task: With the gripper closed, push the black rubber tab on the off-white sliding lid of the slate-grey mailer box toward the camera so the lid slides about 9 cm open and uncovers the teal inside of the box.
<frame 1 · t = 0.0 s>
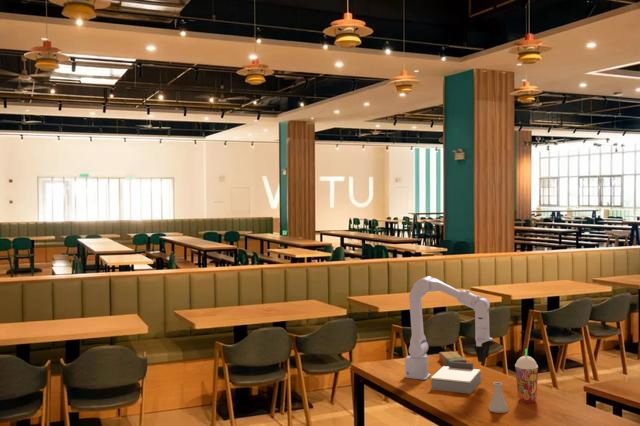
hand: (483, 359, 267), 10 cm above the table, tool pointing down, fingers open, 7 cm apart
flask: (498, 410, 235), on the table
lid: (456, 371, 267), point 6 cm above the table, slide at 0.0 cm
mailer box: (456, 385, 267), on the table
smoothie: (527, 401, 244), on the table
carton: (452, 365, 299), on the table
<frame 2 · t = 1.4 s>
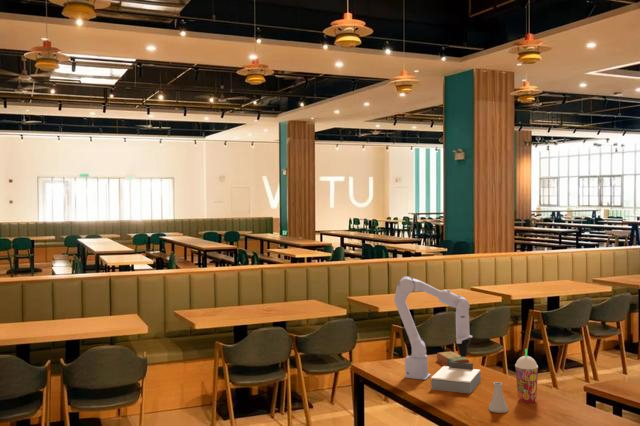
hand: (463, 356, 278), 9 cm above the table, tool pointing down, fingers closed
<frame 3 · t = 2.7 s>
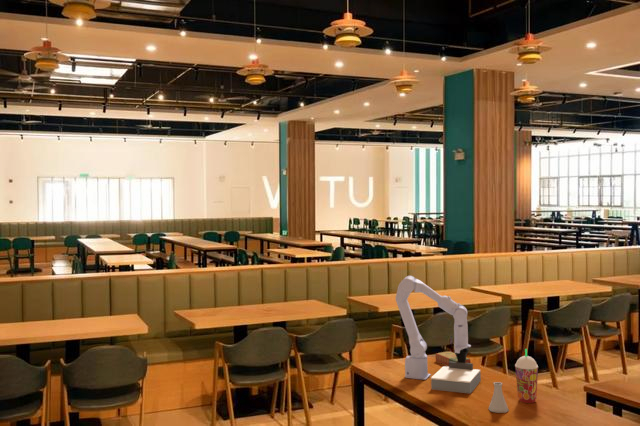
hand: (461, 365, 275), 6 cm above the table, tool pointing down, fingers closed
lid: (455, 371, 266), point 6 cm above the table, slide at 0.3 cm, touching gripper
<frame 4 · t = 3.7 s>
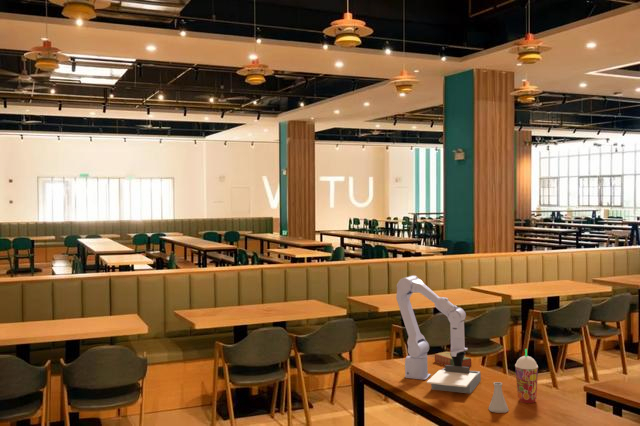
hand: (458, 369, 270), 6 cm above the table, tool pointing down, fingers closed
lid: (452, 375, 261), point 6 cm above the table, slide at 6.0 cm, touching gripper
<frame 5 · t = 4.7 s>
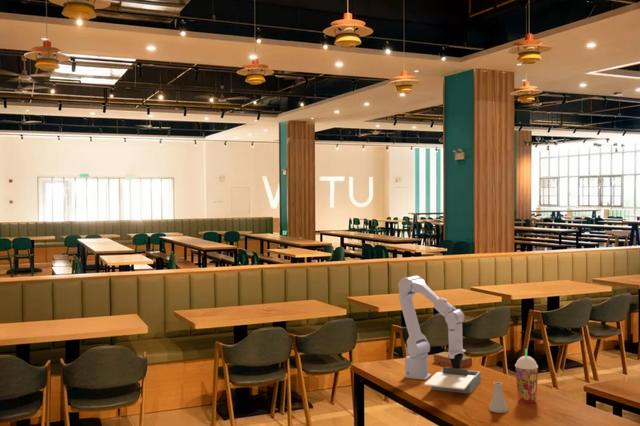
hand: (456, 371, 267), 6 cm above the table, tool pointing down, fingers closed
lid: (450, 377, 258), point 6 cm above the table, slide at 9.3 cm, touching gripper
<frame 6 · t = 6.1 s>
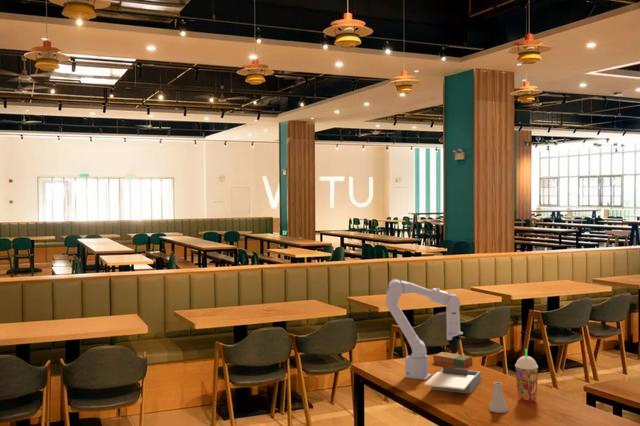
hand: (454, 352, 279), 10 cm above the table, tool pointing down, fingers closed
lid: (450, 377, 258), point 6 cm above the table, slide at 9.3 cm
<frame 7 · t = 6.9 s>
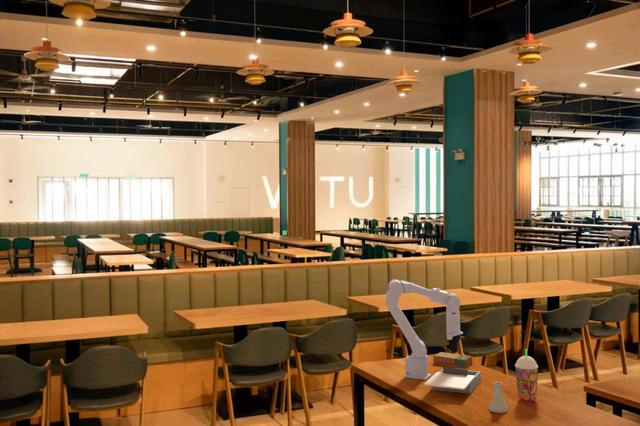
hand: (454, 352, 279), 10 cm above the table, tool pointing down, fingers closed
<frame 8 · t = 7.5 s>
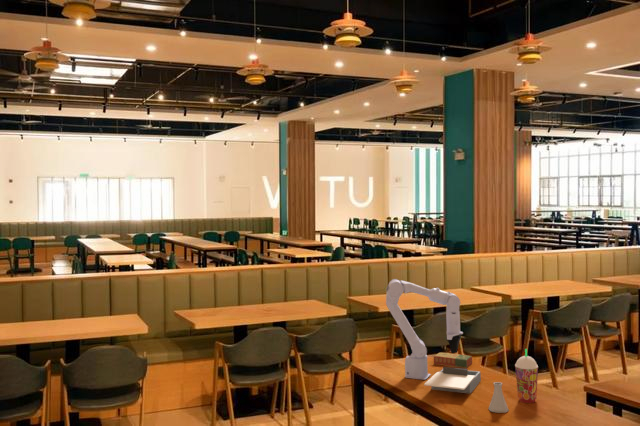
hand: (454, 352, 279), 10 cm above the table, tool pointing down, fingers closed
at the end: lid slide at 9.3 cm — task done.
